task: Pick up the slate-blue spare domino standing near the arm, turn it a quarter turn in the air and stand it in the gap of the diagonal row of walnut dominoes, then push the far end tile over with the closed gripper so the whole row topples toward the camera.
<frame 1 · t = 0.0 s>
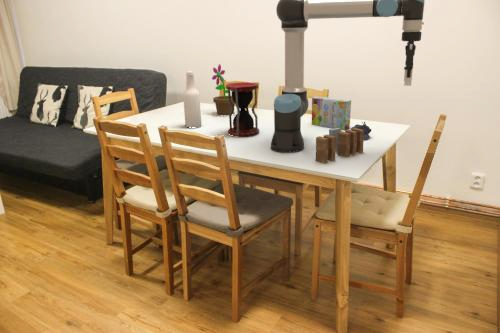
hand: (407, 83, 188), 28 cm above the table, fingers open, 13 cm apart
flowerpot: (225, 114, 272), on the table
hourglass: (243, 133, 227), on the table
domino 3: (343, 155, 187), on the table
domino 1: (328, 159, 182), on the table
domino 5: (356, 151, 191), on the table
snack box: (330, 127, 235), on the table
alcohol: (193, 126, 244), on the table
domino 0: (321, 161, 180), on the table
domino 4: (350, 153, 189), on the table
spare domino: (334, 151, 193), on the table
frog: (359, 138, 212), on the table
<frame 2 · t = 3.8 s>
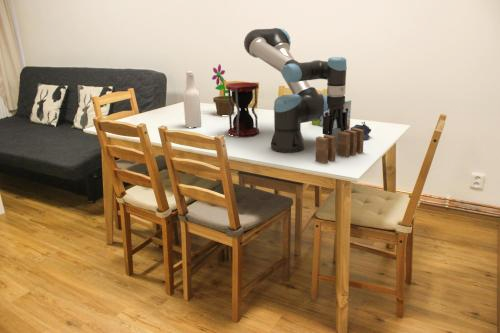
hand: (334, 148, 192), 1 cm above the table, fingers closed on spare domino, 5 cm apart
spare domino: (334, 151, 193), on the table, touching gripper
everything else where it was.
when the fingers open (1 cm above the table, at t = 8.4 s): spare domino stays where it is, on the table.
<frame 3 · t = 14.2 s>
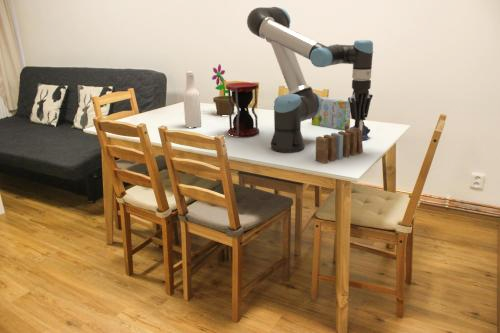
hand: (358, 134, 189), 7 cm above the table, fingers closed
domino 5: (356, 151, 191), on the table, tilted 9°
spare domino: (336, 157, 184), on the table
everything else where it was.
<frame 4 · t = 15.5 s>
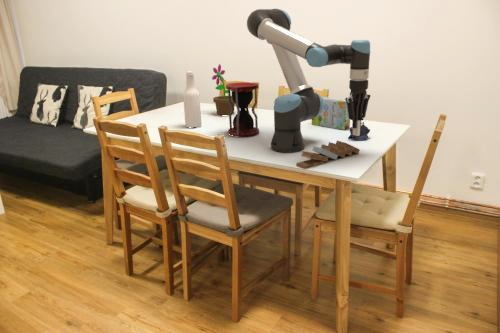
hand: (356, 135, 188), 8 cm above the table, fingers closed
domino 3: (340, 154, 185), point 1 cm above the table, tilted 62°, touching domino 4, spare domino
domino 1: (323, 157, 180), point 1 cm above the table, tilted 72°, touching spare domino
domino 5: (354, 150, 190), point 1 cm above the table, tilted 63°
domino 0: (319, 161, 179), on the table, tilted 90°
domino 4: (347, 152, 188), point 1 cm above the table, tilted 62°, touching domino 3
spare domino: (332, 156, 183), point 1 cm above the table, tilted 62°, touching domino 1, domino 3
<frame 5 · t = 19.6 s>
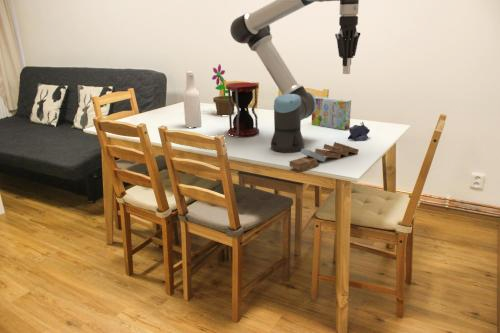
hand: (346, 73, 189), 32 cm above the table, fingers closed
domino 3: (336, 155, 184), point 1 cm above the table, tilted 72°, touching domino 4, spare domino
domino 1: (312, 159, 175), point 2 cm above the table, tilted 90°, touching domino 0
domino 5: (353, 150, 190), point 1 cm above the table, tilted 67°, touching domino 4
domino 0: (313, 163, 177), on the table, tilted 90°, touching domino 1
domino 4: (344, 152, 187), point 1 cm above the table, tilted 67°, touching domino 3, domino 5
spare domino: (320, 158, 181), point 1 cm above the table, tilted 62°, touching domino 3
at the end: domino 0 tilted 90°; spare domino tilted 62°; spare domino inside the target area (4.0 cm from its centre), point 0.9 cm above the table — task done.
